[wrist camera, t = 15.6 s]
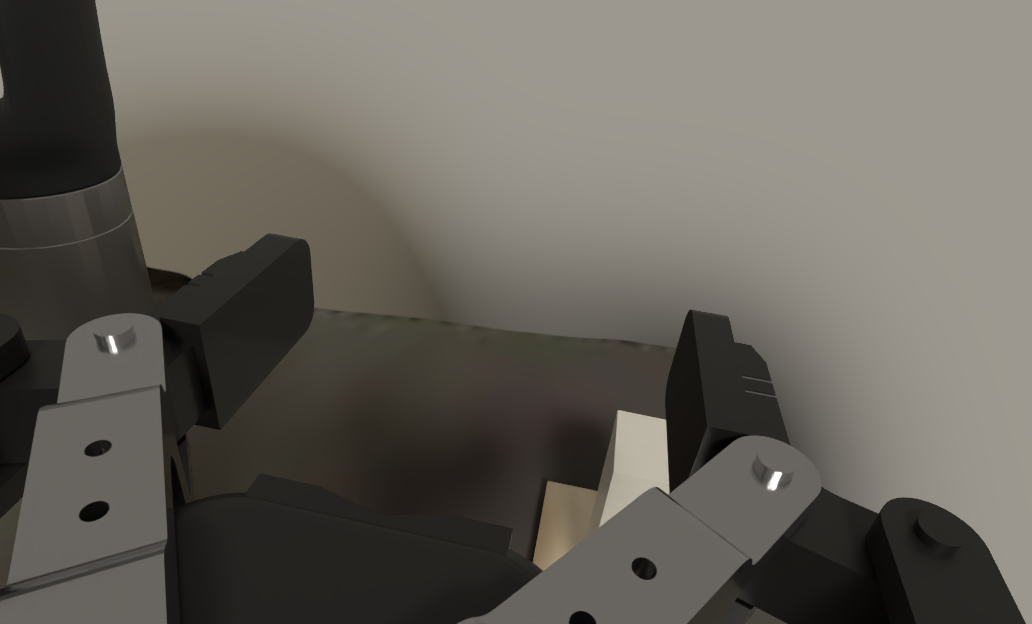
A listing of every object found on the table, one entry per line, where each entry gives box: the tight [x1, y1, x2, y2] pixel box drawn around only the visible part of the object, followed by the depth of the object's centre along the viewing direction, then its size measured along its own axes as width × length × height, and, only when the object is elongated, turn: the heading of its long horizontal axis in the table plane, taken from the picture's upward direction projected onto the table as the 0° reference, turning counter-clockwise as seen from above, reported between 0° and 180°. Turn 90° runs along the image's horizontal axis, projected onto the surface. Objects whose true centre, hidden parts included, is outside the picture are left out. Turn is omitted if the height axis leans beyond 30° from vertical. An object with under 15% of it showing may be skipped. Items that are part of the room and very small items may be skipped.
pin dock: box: [533, 481, 597, 571], centre depth 35 cm, size 10×14×4 cm
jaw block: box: [586, 410, 669, 537], centre depth 32 cm, size 4×4×11 cm
